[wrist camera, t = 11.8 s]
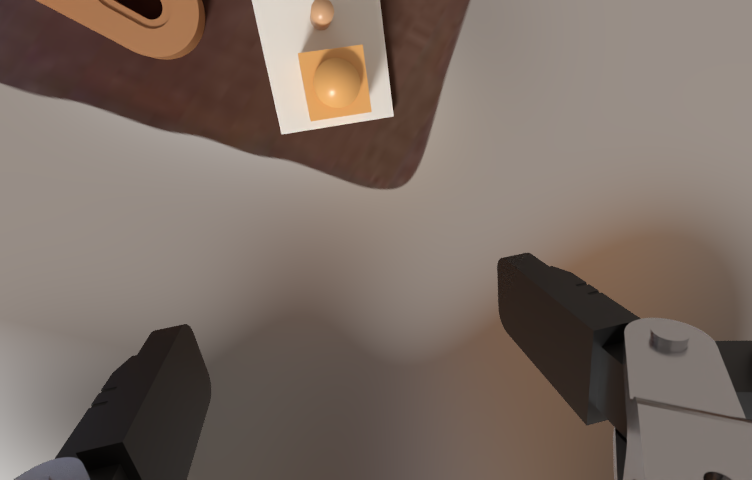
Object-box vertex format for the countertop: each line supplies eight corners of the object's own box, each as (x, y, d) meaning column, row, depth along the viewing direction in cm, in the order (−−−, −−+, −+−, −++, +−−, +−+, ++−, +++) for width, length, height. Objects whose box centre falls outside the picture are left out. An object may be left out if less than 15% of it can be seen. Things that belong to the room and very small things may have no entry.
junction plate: (282, 133, 43) (279, 138, 38) (248, -18, 37) (240, -36, 32) (390, 115, 44) (402, 118, 39) (372, -33, 39) (383, -52, 34)
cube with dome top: (309, 117, 41) (311, 122, 35) (298, 58, 39) (297, 52, 33) (362, 109, 42) (373, 112, 35) (354, 51, 40) (364, 43, 33)
